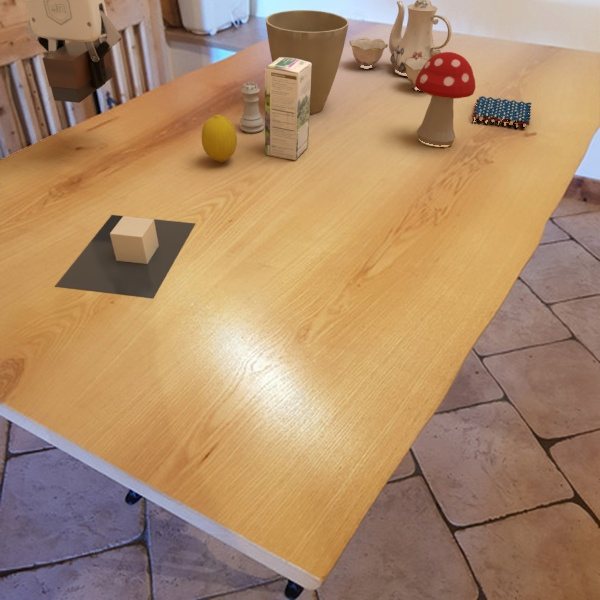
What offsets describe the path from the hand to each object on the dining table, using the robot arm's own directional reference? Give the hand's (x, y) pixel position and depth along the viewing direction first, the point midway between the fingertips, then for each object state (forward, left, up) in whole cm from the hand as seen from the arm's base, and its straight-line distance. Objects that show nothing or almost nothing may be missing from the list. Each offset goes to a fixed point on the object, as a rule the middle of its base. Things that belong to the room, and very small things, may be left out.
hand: (83, 83), depth 85 cm
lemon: (+21, 0, -11) cm, 24 cm away
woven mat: (+69, +29, -11) cm, 76 cm away
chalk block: (+18, -28, -10) cm, 35 cm away
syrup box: (+31, +6, -11) cm, 34 cm away
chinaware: (+50, +50, -11) cm, 72 cm away
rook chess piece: (+23, +14, -11) cm, 29 cm away
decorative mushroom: (+56, +15, -11) cm, 59 cm away
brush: (0, 0, -1) cm, 1 cm away
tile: (+17, -28, -11) cm, 35 cm away
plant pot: (+31, +26, -11) cm, 42 cm away
